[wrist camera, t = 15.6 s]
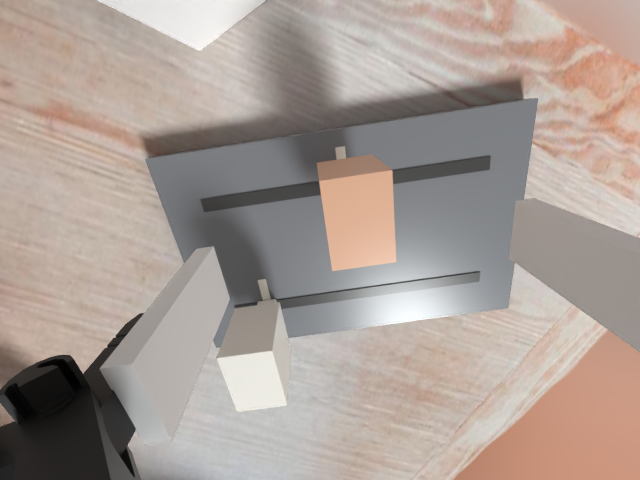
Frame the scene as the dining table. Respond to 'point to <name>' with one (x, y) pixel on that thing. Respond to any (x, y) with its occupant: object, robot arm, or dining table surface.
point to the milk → (187, 17)
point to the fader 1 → (256, 357)
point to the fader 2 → (358, 211)
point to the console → (310, 230)
